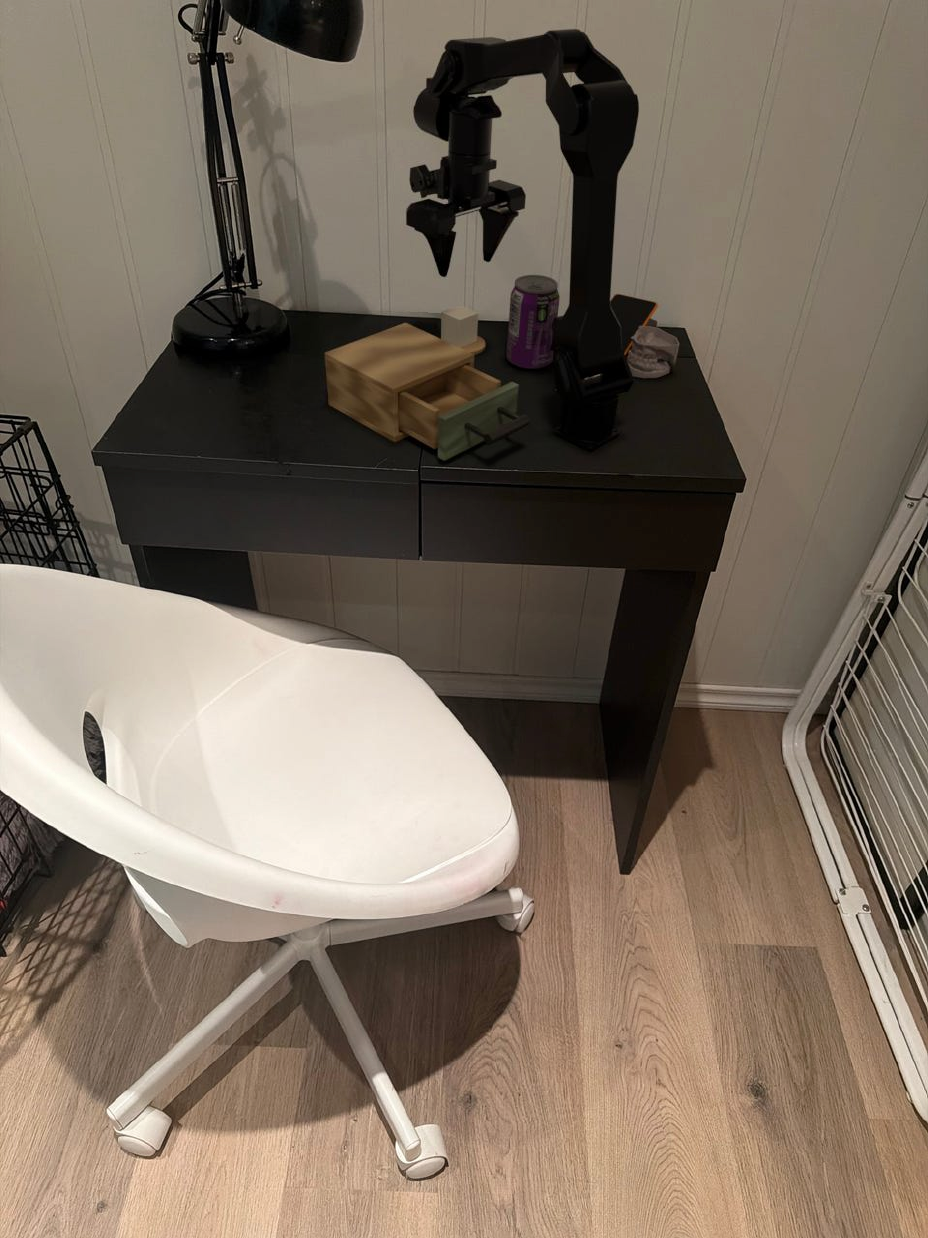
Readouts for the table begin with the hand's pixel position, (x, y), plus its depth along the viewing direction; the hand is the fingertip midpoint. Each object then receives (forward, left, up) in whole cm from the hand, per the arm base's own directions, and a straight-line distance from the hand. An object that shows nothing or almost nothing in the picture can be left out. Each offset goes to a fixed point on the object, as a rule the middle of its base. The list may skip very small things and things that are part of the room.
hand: (465, 268), depth 124 cm
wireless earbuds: (-17, -22, -12) cm, 30 cm away
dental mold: (-24, -15, -7) cm, 29 cm away
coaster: (0, 0, -12) cm, 12 cm away
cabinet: (-8, +20, -12) cm, 24 cm away
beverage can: (-11, -4, -12) cm, 16 cm away
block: (+1, 0, -11) cm, 11 cm away
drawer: (-19, +20, -11) cm, 30 cm away
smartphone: (-16, -23, -9) cm, 29 cm away
